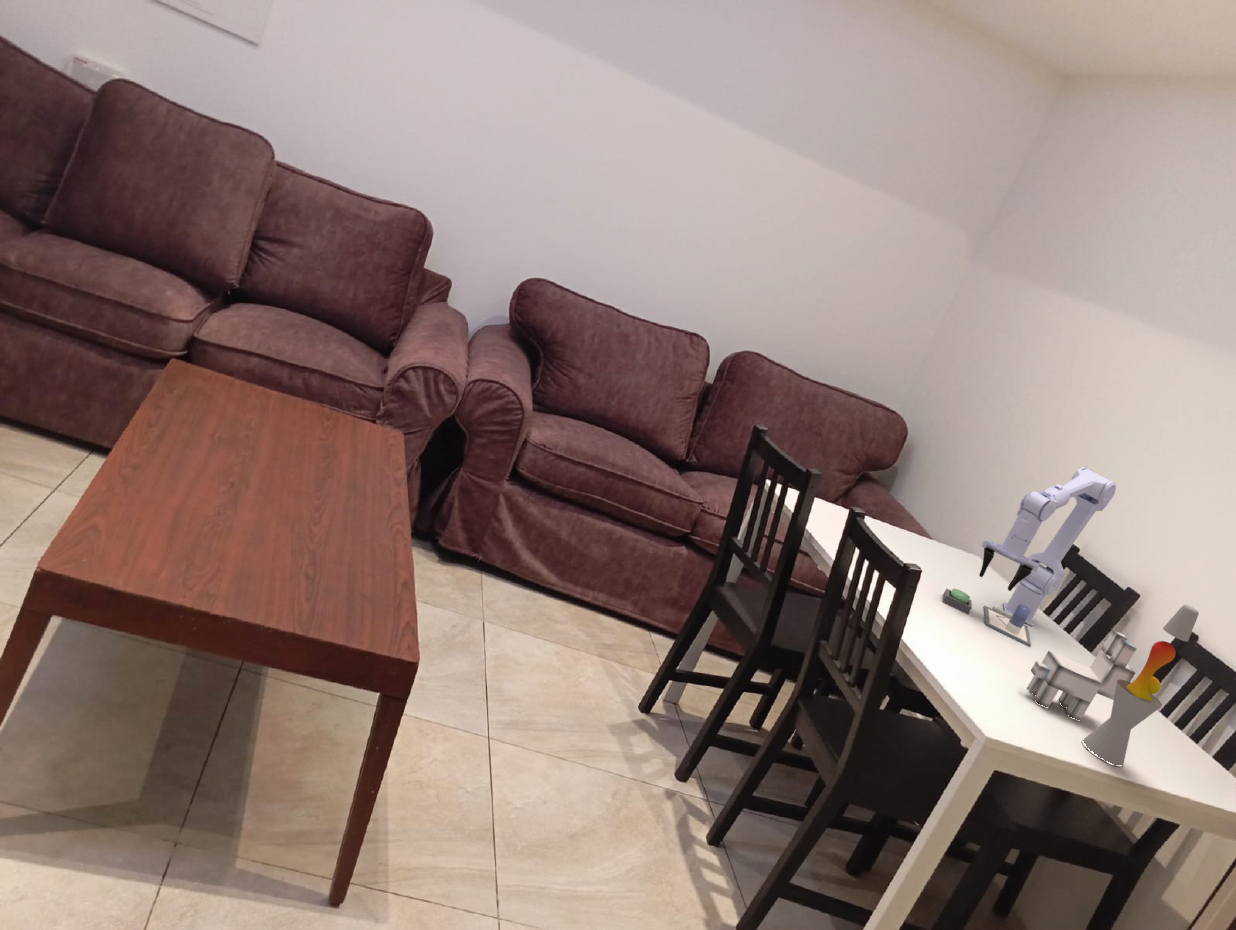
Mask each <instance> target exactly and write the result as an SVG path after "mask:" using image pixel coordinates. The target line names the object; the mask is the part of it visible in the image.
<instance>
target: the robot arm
mask: <svg viewBox="0 0 1236 930" xmlns="http://www.w3.org/2000/svg"><path fill="white" fill-rule="evenodd" d="M1116 485H1117V484H1116V482H1115V481H1112V480H1110V479H1108V478H1106V477H1104V476H1101V475H1100V474H1099V473H1097V472H1094V471H1091V470H1090V469H1088V468H1087V467H1086V466H1085V467H1084V466H1083V467H1080V468H1079V469H1077V470H1076V471H1075V472H1074V473H1073V475H1072V478H1071V479H1070V480H1068V482H1066V483H1064V484H1063V485H1061V484H1058V483H1057V484H1054V485H1051V486H1050V487H1047V488H1046V489H1043V490H1041V491H1039V492H1037V491H1034V490H1033V491H1029V492H1027V493H1026V494H1025V495H1024V496H1023V498H1022V499H1021V501H1020V504H1019V509H1018V511H1017V513H1016V516H1017V517H1016V519H1015V521H1014V523H1013V524H1012V526H1011V528H1010V530H1009V532H1008V534H1007V536H1006V538H1005V540H1003V543H1002V544H999V543H996V542H993V540H992V541H991V540H989V539H987V538H984V539H983V541H982V543H981V547H982V548H983V561H982V566H981V570H980V571H979V575H978V576H979V577H980V578H983V577H984V575H985V573H986V571H987V569H988V567H989V565H990V563H991V562H992V560H993V559H994V558H995V556H994V555H995V553H996V554H997V555H1000V556H1002V557H1003V558H1004V557H1005V558H1006V559H1009V560H1011V561H1013V562H1015V563H1017V564H1018V565H1019V566H1018V568H1017V571H1016V572H1015V575H1014V577H1013V578H1012V580H1011V581H1010V582H1009V584H1008V587H1007V590H1008V591H1009V592H1011V591H1012V590H1013V589H1014V588H1015V587H1016V588H1015V589H1014V591H1013V593H1012V594H1011V596H1010V598H1009V600H1008V602H1006V601H1004V602H1003V609H1004V610H1003V611H1005V612H1007V613H1009V614H1011V615H1013V613H1014V612H1015V610H1016V608H1017V606H1018V605H1019V604H1021V605H1024V606H1026V607H1028V608H1029V609H1030V610H1031V613H1030V614H1029V616H1028V618H1027V620H1026V621H1025V623H1026V624H1027V625H1029V626H1031V627H1032V626H1034V622H1033V618H1034V617H1035V615H1036V612H1037V611H1038V610H1039V607H1040V606H1041V604H1042V602H1043V600H1044V599H1045V597H1046V596H1049V595H1053V594H1054V593H1055V592H1056V591H1058V588H1059V587H1060V586H1061V584H1062V580H1063V578H1064V577H1065V575H1066V573H1065V569H1064V568H1063V565H1062V560H1063V559H1064V557H1065V556H1066V554H1067V553H1068V552H1069V551H1070V549H1071V548H1072V546H1073V545H1074V543H1075V542H1076V540H1077V539H1078V538H1079V536H1080V535H1081V533H1082V531H1083V530H1084V529H1085V527H1086V526H1087V524H1088V523H1089V522H1090V520H1091V519H1092V518H1093V516H1094V515H1095V513H1096V512H1102V511H1104V509H1105V508H1106V507H1107V506H1108V505H1109V503H1110V502H1111V500H1112V499H1113V498H1114V496H1115V494H1116V490H1117V489H1116V488H1117V486H1116ZM1072 498H1074V499H1075V500H1076V504H1075V506H1074V508H1073V509H1072V511H1071V512H1070V514H1069V515H1068V517H1066V519H1065V521H1064V522H1063V523H1062V525H1061V526H1060V528H1059V529H1058V531H1057V532H1056V534H1055V535H1054V537H1053V538H1052V540H1051V541H1050V543H1049V544H1048V545H1047V547H1046V548H1045V550H1044V551H1043V552H1037V553H1032V554H1030V555H1029V556H1028V557H1026V556H1025V554H1026V552H1027V551H1028V548H1029V547H1030V545H1031V543H1032V541H1033V540H1034V539H1035V538H1034V537H1035V536H1036V535H1037V532H1038V531H1039V529H1040V527H1041V525H1042V523H1043V522H1045V521H1047V520H1048V519H1049V518H1050V517H1051V516H1052V515H1053V514H1054V513H1055V511H1056V510H1058V509H1060V508H1062V507H1065V506H1067V505H1068V503H1069V501H1070V499H1072ZM1042 564H1043V565H1042ZM1045 566H1046V567H1045ZM1025 623H1024V624H1025Z"/></svg>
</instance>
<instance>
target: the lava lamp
mask: <svg viewBox="0 0 1236 930" xmlns="http://www.w3.org/2000/svg"><path fill="white" fill-rule="evenodd" d="M1198 618H1199V610H1197V609H1196V608H1194V607H1192V606H1190V605H1189V604H1183V605H1182V606H1181V607H1180V608H1179V609H1178V610H1177V611H1176V613H1175V614H1174V615H1173V616H1172V617H1171V618H1170V619H1169V621H1167V623H1166V624H1165V625H1164V626H1163V628H1162V629H1163V631H1164V632H1165V633H1167V634H1169V635H1171V636H1172V637H1174V638H1176V639H1178V640H1180V641H1183V642H1189V639H1190V637H1191V635H1192V632H1193V629H1194V626H1195V625H1196V622H1197V620H1198ZM1176 653H1177V652H1176V649H1175V647H1174V646H1173V644H1172V643H1170V642H1168V641H1165V640H1159V641H1156V642H1155V643H1153V645H1152V646H1151V648H1150V652H1149V654H1148V658H1147V659H1146V663H1145V664H1144V666H1143V668H1142V670H1141V672H1140V673H1139V674H1138V676H1137V677H1136V678H1135V679H1134V680H1132V682H1131V681H1130V682H1128V681H1125V680H1117V684H1116V690H1115V695H1114V700H1113V703H1112V707H1111V714H1110V717H1109V718H1108V719H1107V720H1105V721H1104V722H1103V723H1102V724H1100V725H1099V726H1097V728H1095V729H1094V730H1093V731H1092V732H1090V734H1088V735H1087V736H1086V737H1085V738H1083V739H1084V740H1083V739H1082V740H1083V741H1084V743H1085V744H1086V746H1087V748H1089V749H1090V751H1093V752H1094V754H1097V755H1098V757H1100V758H1103V759H1104V760H1105V761H1108V762H1110V763H1112V764H1114V765H1123V766H1124V763H1125V759H1126V755H1127V750H1128V745H1129V740H1130V736H1131V731H1132V729H1134V728H1135V727H1136V726H1137V725H1139V724H1140V723H1142V722H1143V721H1144V720H1146V719H1147V718H1149V717H1150V716H1151V715H1153V714H1154V713H1155V712H1156V711H1158V710H1159V709H1160V708H1162V706H1163V704H1162V702H1161V701H1160V700H1159V699H1158V698H1157V697H1156V696H1155V694H1156V693H1158V692H1160V690H1161V683H1160V681H1159V679H1158V678H1157V677H1155V676H1154V674H1155V673H1156V671H1158V670H1159V669H1160V668H1161V667H1163V666H1165V665H1167V664H1169V663H1170V662H1172V661H1173V660H1174V659H1175V657H1176Z"/></svg>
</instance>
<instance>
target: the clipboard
mask: <svg viewBox="0 0 1236 930" xmlns="http://www.w3.org/2000/svg"><path fill="white" fill-rule="evenodd" d="M983 615H984V616H983V617H984V619H983V620H984V626H986V627H988V628H990V629H992V630H995V631H996V632H999V633H1001V634H1002V635H1004V636H1006V637H1008V636H1009V637H1008V638H1011V639H1013V640H1014V639H1015V640H1014V641H1017V642H1018V643H1021V644H1023V645H1025V646H1026V647H1028V648H1031V647H1032V642H1031V637H1030V634H1029V629H1028V628H1029V627H1028V625H1026V624H1024V625H1023V626H1022V628H1021V630H1020V632H1019V633H1018V634H1014V633H1011V632H1010V631H1008V630H1007V629H1006V628H1005V627H1006V626H1007V624H1008V622H1009V620H1010V619H1011V617H1012V615H1011V614H1009V613H1007V612H1005V611H1004V610H1003V609H1001V608H999V607H998V606H994V605H993V606H992V607H989V606H986V605H984V606H983Z"/></svg>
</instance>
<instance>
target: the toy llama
mask: <svg viewBox="0 0 1236 930" xmlns="http://www.w3.org/2000/svg"><path fill="white" fill-rule="evenodd" d="M1127 640H1128V638H1127V637H1126V635H1125V634H1123V633H1122V632H1119V631H1116V630H1115V629H1112V630H1111V631H1110V633H1109V634H1108V636H1107V638H1106V640H1105V642H1104V644H1103V645H1102V646H1101V648H1100V650H1099V652H1098V653H1097V655H1096V657H1095V659H1094V660H1093V662H1092V663H1091V666H1086V665H1084V664H1082V663H1079V662H1076V661H1074V660H1072V659H1069V658H1067V657H1064V656H1062V655H1060V654H1058V653H1055V652H1052V651H1050V650H1048V651H1047V652H1046V654H1045V656H1044V658H1043V660H1042V661H1041V662H1040V661H1038V660H1036V661H1035V662H1034V664H1033V666H1032V667H1031V669H1030V672H1031V674H1033V677H1032V678H1031V680H1030V682H1029V684H1028V685H1027V687H1026V690H1027V691H1028V690H1029V691H1028V693H1029V692H1030V693H1033V694H1034V695H1033V696H1034V698H1033V700H1034V699H1035V700H1036V702H1037V703H1038V704H1040V705H1043V706H1045V707H1049V708H1050V706H1051V704H1052V703H1053V701H1054V699H1055V698H1056V696H1057V694H1058V692H1059V691H1062V692H1061V694H1060V696H1059V697H1058V699H1057V701H1058V700H1059V702H1060V703H1061V705H1062V706H1063V707H1062V706H1061V705H1060V706H1061V707H1062V708H1064V707H1067V709H1066V708H1065V709H1066V710H1065V711H1066V713H1067V714H1068V715H1069V717H1072V718H1075V719H1077V720H1080V721H1081V719H1082V718H1083V716H1084V715H1085V713H1086V711H1087V710H1088V708H1089V707H1090V705H1091V703H1092V702H1093V700H1094V698H1095V697H1096V695H1097V694H1098V695H1100V696H1102V697H1105V698H1108V699H1110V700H1113V701H1114V695H1115V690H1116V684H1117V680H1125V681H1128V682H1131V681H1133V678H1134V676H1135V675H1136V672H1135V670H1133V668H1132V667H1131V666H1130V665H1129V662H1130V661H1131V659H1132V657H1133V656H1134V654H1135V653H1136V651H1137V647H1136V646H1135V644H1133V643H1131V642H1129V641H1127ZM1030 693H1029V694H1030ZM1035 695H1036V696H1035ZM1035 700H1034V701H1035ZM1036 702H1035V703H1036ZM1037 703H1036V704H1037ZM1040 705H1039V706H1040ZM1045 707H1044V708H1045ZM1066 713H1065V714H1066ZM1067 714H1066V715H1067ZM1069 717H1068V718H1069Z"/></svg>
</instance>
